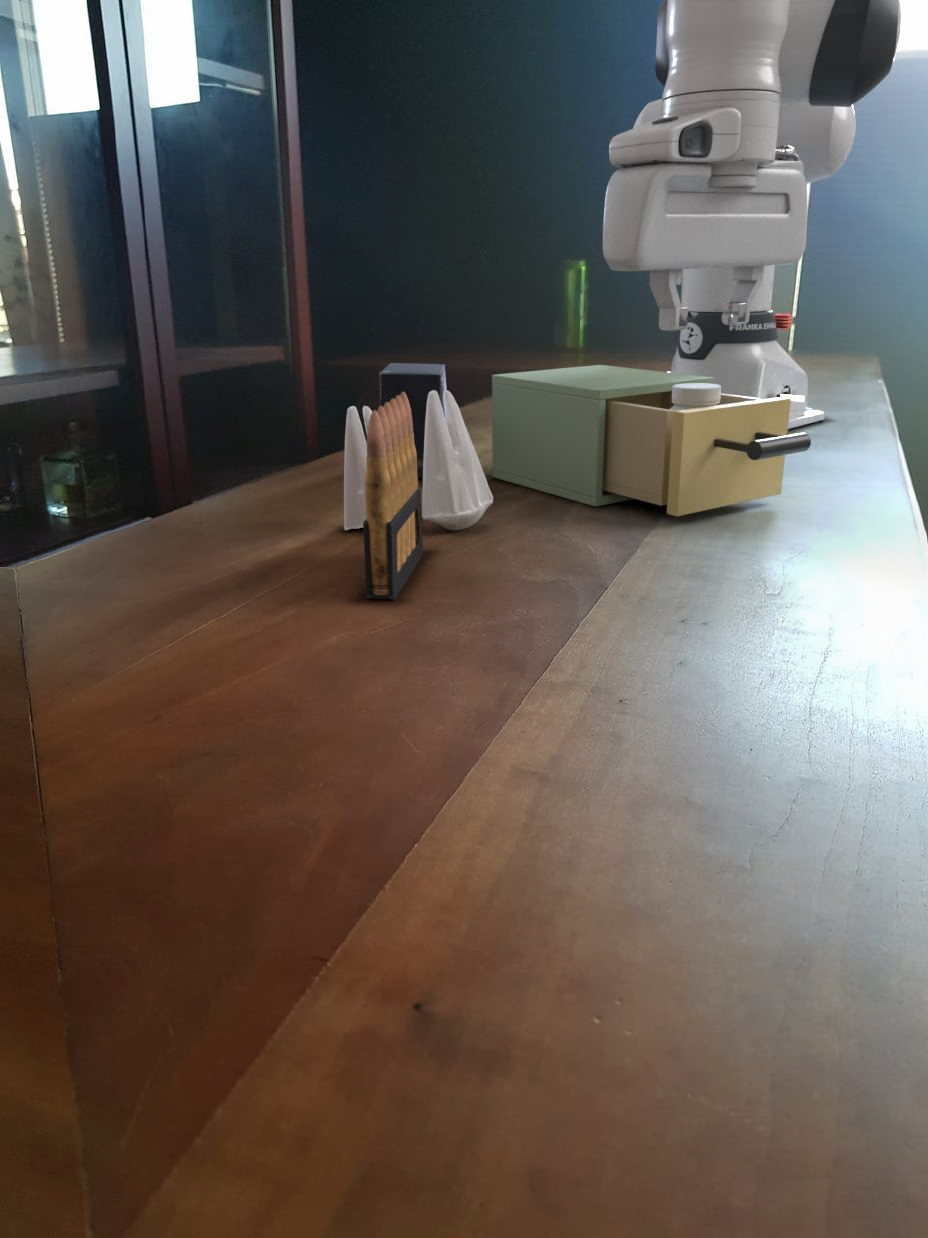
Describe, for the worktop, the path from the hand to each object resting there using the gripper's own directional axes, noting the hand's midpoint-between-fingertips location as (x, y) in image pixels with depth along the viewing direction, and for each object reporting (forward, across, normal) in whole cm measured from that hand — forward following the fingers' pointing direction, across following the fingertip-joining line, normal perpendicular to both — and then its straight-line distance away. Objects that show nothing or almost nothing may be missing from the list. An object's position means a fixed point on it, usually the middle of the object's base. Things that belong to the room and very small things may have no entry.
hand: (704, 327), depth 79 cm
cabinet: (+15, 0, -12) cm, 19 cm away
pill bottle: (+13, +1, 0) cm, 13 cm away
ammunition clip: (+15, +31, +2) cm, 35 cm away
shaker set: (+15, +23, -8) cm, 29 cm away
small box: (+15, +11, -28) cm, 34 cm away
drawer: (+14, 0, 0) cm, 14 cm away
